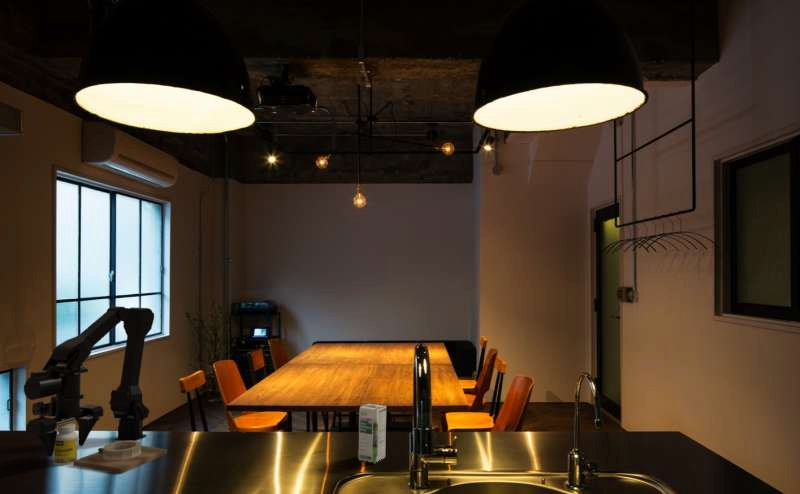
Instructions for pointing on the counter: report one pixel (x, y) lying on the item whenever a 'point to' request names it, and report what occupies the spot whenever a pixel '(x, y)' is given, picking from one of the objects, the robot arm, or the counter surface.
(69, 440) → the supplement bottle
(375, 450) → the syrup box
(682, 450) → the counter surface
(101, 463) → the dock
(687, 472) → the counter surface
